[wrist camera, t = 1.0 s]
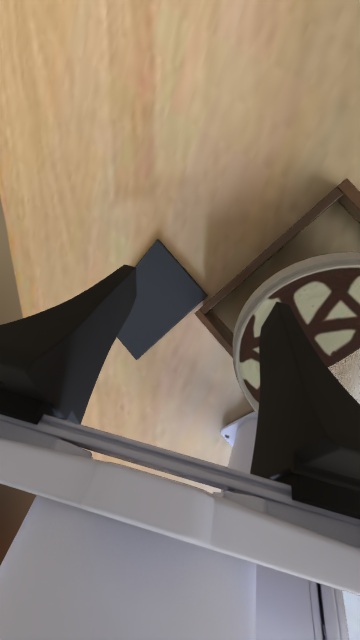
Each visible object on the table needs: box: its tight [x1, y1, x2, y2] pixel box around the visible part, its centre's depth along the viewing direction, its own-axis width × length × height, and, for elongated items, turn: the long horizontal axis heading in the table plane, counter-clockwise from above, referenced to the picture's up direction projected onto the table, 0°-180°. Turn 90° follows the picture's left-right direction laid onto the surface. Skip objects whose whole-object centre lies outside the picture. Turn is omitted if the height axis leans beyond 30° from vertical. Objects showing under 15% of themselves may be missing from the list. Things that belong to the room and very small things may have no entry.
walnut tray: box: [195, 179, 360, 358], centre depth 21 cm, size 9×15×2 cm, turn 135°
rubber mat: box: [117, 240, 207, 360], centre depth 28 cm, size 8×13×1 cm, turn 135°
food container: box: [233, 252, 360, 413], centre depth 18 cm, size 12×6×10 cm, turn 136°
